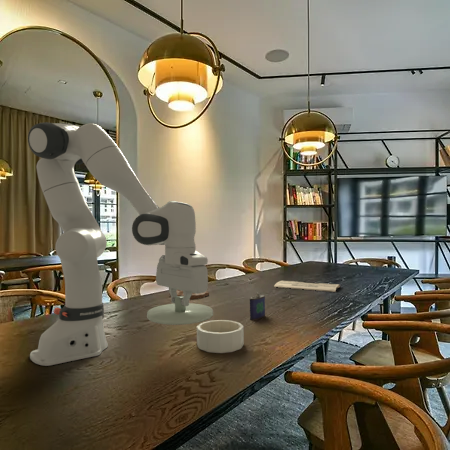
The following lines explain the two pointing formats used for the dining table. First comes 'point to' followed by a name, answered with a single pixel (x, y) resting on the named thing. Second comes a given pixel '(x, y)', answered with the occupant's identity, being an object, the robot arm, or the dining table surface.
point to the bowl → (220, 336)
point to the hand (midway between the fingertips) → (180, 304)
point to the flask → (257, 307)
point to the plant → (194, 295)
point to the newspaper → (307, 286)
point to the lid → (179, 313)
